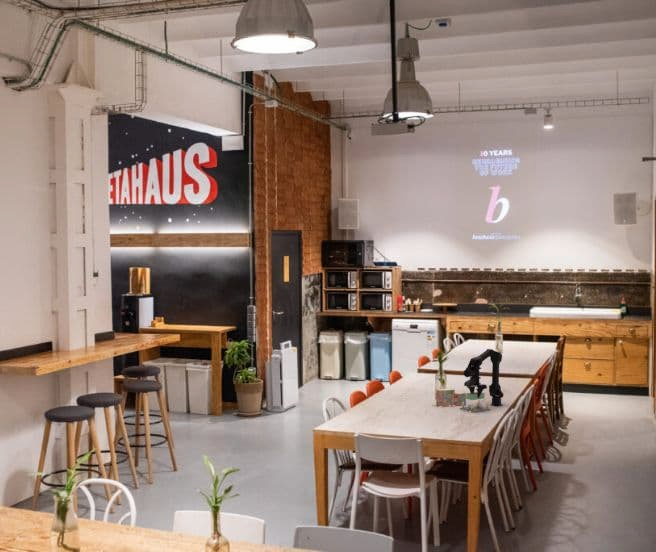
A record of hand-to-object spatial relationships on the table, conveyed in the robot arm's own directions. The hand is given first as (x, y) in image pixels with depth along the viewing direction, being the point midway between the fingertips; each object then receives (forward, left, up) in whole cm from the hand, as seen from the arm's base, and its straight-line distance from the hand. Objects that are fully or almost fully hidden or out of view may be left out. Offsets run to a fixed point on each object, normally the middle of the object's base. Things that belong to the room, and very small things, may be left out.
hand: (475, 397), depth 580 cm
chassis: (0, 0, -9) cm, 9 cm away
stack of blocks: (+4, -22, -10) cm, 25 cm away
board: (0, 0, -1) cm, 1 cm away
